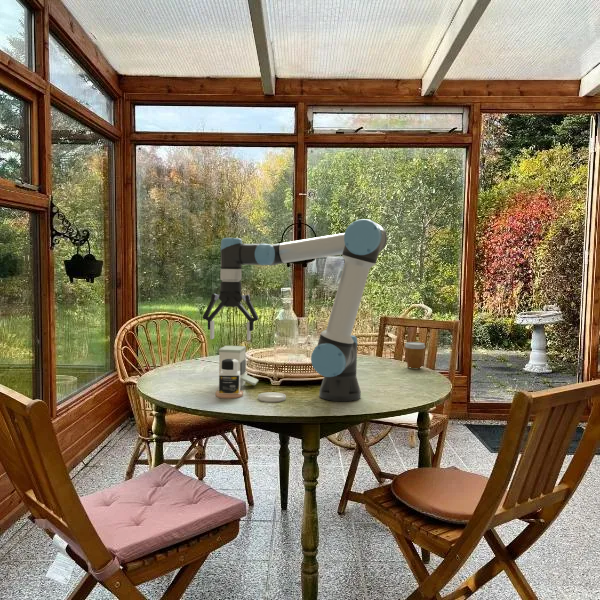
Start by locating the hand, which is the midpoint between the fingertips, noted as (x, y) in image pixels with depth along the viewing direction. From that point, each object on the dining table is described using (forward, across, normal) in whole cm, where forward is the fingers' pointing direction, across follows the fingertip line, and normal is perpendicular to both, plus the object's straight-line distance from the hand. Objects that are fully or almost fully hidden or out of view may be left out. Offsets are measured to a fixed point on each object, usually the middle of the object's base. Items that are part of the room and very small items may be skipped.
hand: (230, 339), depth 202 cm
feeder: (+21, 0, -16) cm, 26 cm away
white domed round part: (+21, -16, +2) cm, 26 cm away
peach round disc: (+20, 0, 0) cm, 21 cm away
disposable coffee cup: (+21, -72, -71) cm, 103 cm away
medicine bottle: (+20, 0, 0) cm, 20 cm away
